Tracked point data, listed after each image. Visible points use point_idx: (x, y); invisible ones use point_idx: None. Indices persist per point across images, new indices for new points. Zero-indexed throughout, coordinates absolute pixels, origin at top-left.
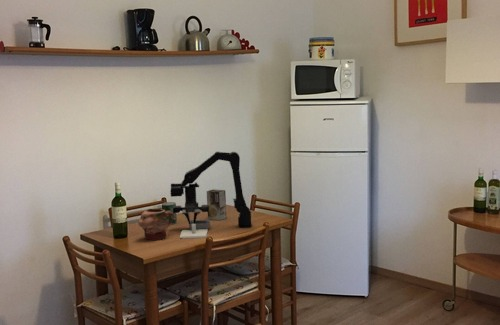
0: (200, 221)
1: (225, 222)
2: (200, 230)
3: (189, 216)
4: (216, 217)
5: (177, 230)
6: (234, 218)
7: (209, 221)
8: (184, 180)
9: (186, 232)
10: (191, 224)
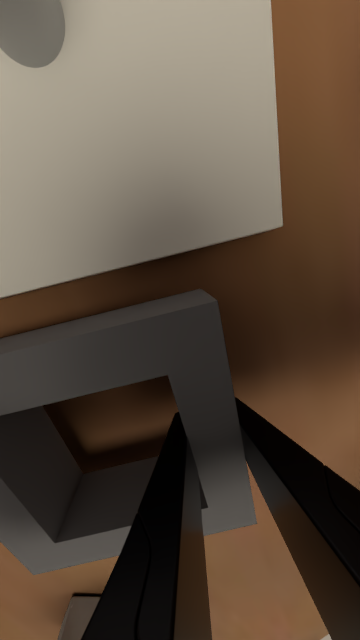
0: (129, 511)
1: (3, 568)
2: (5, 228)
3: (320, 600)
4: None
5: (334, 298)
6: (5, 632)
7: (9, 528)
8: None
9: (181, 46)
10: (174, 311)
